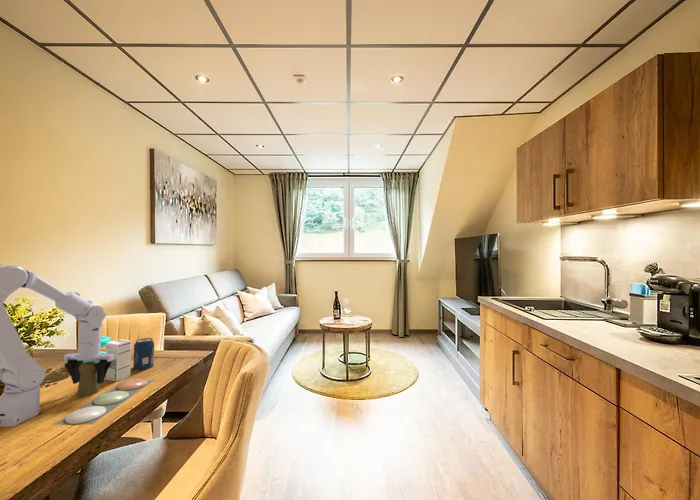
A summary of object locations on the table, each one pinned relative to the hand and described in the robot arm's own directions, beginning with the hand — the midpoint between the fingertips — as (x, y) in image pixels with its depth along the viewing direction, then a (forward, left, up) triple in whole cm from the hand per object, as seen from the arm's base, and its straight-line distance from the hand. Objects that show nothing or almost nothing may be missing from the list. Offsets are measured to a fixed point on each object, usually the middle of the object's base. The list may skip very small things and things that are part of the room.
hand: (88, 382), depth 105 cm
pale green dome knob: (-5, -10, -3) cm, 12 cm away
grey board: (-5, -10, -4) cm, 12 cm away
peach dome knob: (+6, -10, -3) cm, 13 cm away
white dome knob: (-15, -10, -3) cm, 19 cm away
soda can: (+24, -4, -5) cm, 25 cm away
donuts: (+33, +21, -5) cm, 39 cm away
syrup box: (+13, -1, -5) cm, 14 cm away
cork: (0, 0, -5) cm, 5 cm away
